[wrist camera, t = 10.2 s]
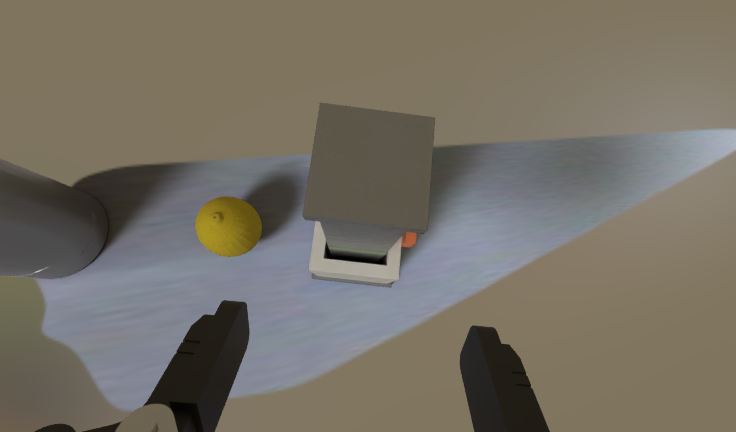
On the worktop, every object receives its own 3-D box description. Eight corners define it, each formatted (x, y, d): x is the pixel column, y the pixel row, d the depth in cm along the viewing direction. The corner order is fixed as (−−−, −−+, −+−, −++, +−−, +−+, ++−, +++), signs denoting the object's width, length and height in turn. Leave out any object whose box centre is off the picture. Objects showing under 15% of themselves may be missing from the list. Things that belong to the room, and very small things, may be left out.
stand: (313, 278, 36) (298, 270, 25) (323, 209, 38) (313, 172, 26) (392, 287, 36) (413, 283, 25) (398, 218, 38) (420, 185, 27)
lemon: (270, 208, 37) (250, 185, 29) (268, 260, 36) (246, 250, 28) (217, 209, 37) (183, 185, 29) (213, 261, 36) (176, 251, 28)
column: (326, 260, 29) (302, 215, 13) (333, 206, 30) (320, 102, 14) (382, 266, 30) (427, 230, 13) (387, 212, 31) (435, 117, 14)
